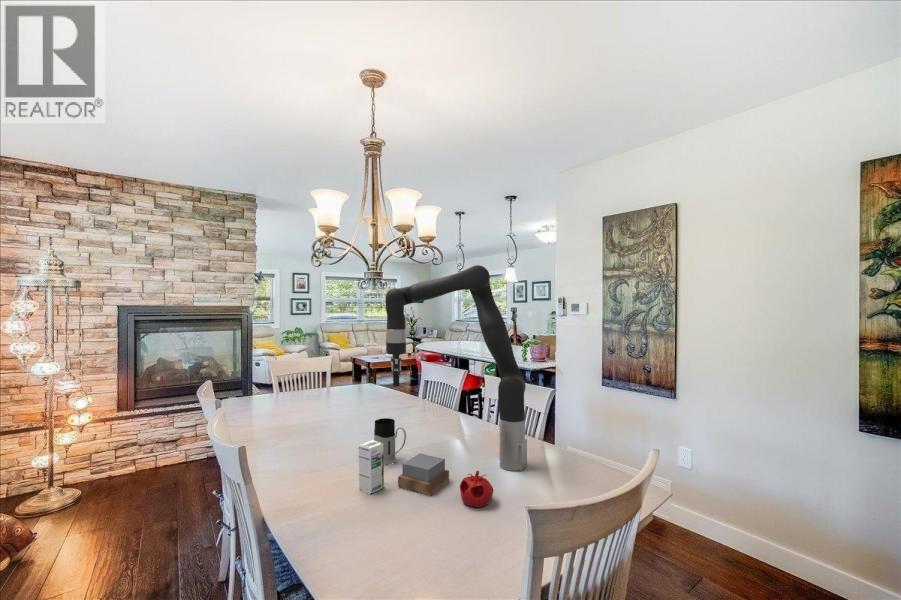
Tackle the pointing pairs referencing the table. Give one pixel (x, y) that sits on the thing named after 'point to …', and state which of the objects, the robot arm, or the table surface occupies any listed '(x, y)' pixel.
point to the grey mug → (387, 438)
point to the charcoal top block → (423, 467)
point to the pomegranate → (476, 490)
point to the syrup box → (371, 466)
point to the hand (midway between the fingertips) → (396, 384)
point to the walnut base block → (423, 484)
